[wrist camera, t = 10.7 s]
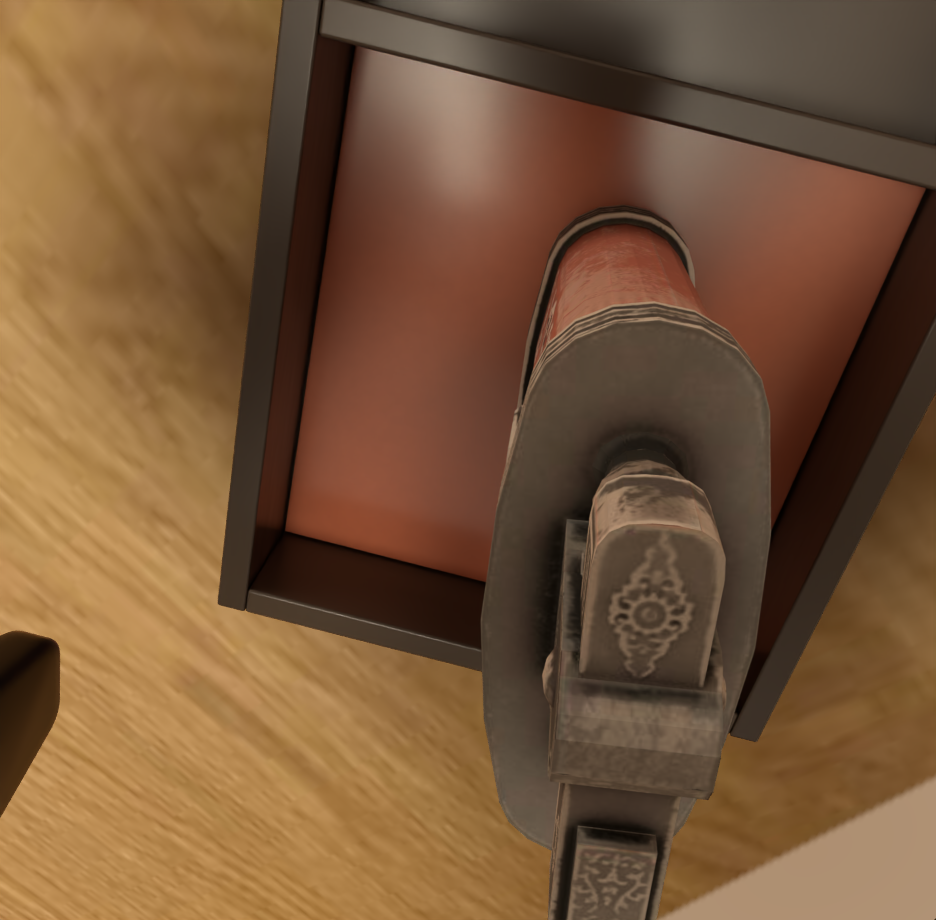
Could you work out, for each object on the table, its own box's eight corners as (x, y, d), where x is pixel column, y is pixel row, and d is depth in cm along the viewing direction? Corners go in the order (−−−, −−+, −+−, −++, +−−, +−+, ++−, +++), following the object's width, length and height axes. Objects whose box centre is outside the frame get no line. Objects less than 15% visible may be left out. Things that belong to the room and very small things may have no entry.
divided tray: (1410, -798, 10) (1700, -1094, 7) (734, 654, 20) (757, 744, 18) (468, -1025, 10) (430, -1393, 8) (262, 534, 20) (216, 605, 18)
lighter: (531, 198, 16) (469, 396, 7) (719, 209, 15) (917, 431, 6) (507, 567, 19) (444, 1020, 10) (658, 582, 19) (732, 1063, 10)
